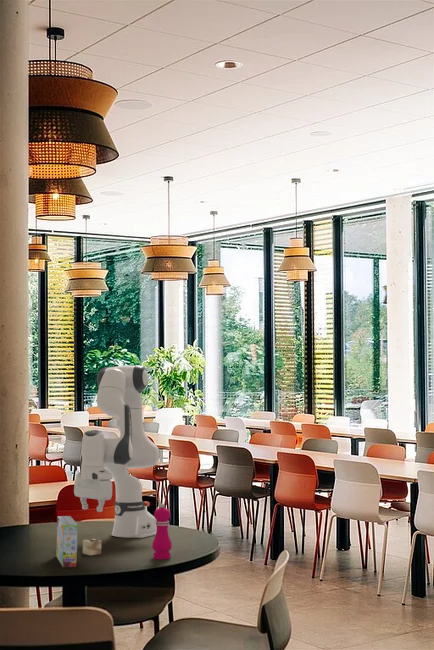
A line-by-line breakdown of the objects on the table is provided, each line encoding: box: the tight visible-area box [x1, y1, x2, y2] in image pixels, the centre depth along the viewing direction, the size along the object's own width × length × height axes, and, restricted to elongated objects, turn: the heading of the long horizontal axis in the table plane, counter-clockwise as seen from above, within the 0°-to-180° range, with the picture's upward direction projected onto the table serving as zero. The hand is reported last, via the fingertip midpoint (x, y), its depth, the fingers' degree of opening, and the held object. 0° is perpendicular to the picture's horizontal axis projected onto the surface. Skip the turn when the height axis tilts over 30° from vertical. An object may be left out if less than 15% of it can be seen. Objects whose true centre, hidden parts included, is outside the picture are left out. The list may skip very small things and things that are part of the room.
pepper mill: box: [151, 503, 173, 560], centre depth 338 cm, size 7×7×20 cm
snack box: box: [55, 515, 79, 568], centre depth 331 cm, size 21×6×15 cm, turn 17°
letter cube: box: [82, 538, 102, 556], centre depth 345 cm, size 5×5×5 cm
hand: (92, 510), depth 346 cm, fingers open, 8 cm apart
